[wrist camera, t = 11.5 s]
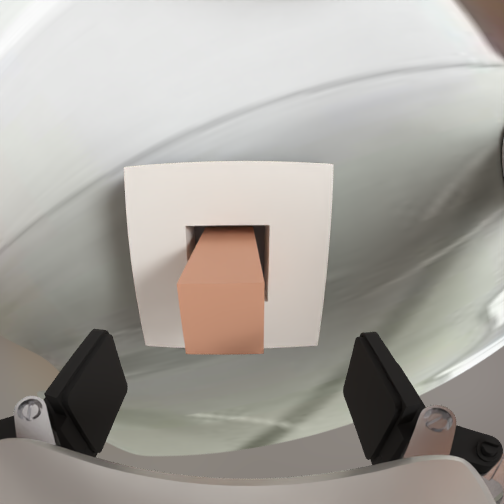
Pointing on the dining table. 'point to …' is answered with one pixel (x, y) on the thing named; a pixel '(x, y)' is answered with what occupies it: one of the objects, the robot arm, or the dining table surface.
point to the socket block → (228, 215)
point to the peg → (223, 294)
